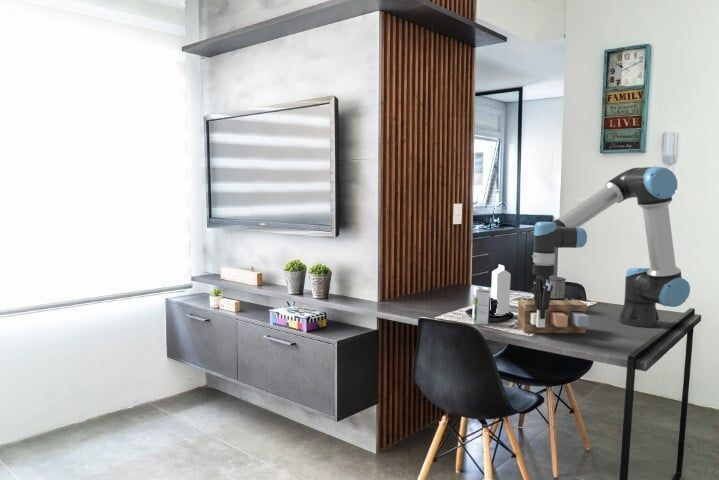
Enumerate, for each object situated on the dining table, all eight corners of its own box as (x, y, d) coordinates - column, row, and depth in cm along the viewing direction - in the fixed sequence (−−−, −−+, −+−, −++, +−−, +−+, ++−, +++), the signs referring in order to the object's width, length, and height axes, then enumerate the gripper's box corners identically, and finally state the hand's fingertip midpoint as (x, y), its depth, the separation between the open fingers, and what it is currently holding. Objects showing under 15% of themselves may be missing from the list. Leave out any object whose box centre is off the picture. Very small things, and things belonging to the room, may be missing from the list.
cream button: (534, 319, 217) (535, 308, 217) (543, 324, 208) (543, 314, 208) (524, 318, 217) (525, 308, 216) (532, 324, 208) (533, 314, 208)
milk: (503, 313, 243) (505, 264, 241) (508, 317, 237) (511, 266, 235) (489, 314, 242) (492, 264, 240) (495, 317, 236) (497, 266, 234)
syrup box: (471, 321, 229) (472, 286, 227) (486, 321, 228) (487, 286, 227) (474, 324, 223) (475, 289, 222) (488, 324, 223) (490, 289, 221)
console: (576, 327, 221) (577, 300, 220) (585, 332, 213) (587, 304, 212) (517, 327, 219) (518, 300, 218) (524, 332, 212) (525, 304, 210)
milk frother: (568, 311, 248) (570, 279, 247) (537, 313, 245) (538, 280, 243) (550, 305, 262) (552, 274, 261) (520, 306, 258) (521, 274, 257)
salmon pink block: (557, 320, 215) (557, 310, 214) (567, 326, 206) (567, 316, 206) (547, 320, 215) (547, 310, 214) (556, 326, 206) (557, 316, 205)
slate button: (577, 320, 215) (578, 310, 215) (588, 326, 206) (588, 316, 206) (567, 320, 215) (568, 310, 215) (577, 326, 206) (578, 316, 206)
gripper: (527, 261, 210) (524, 322, 212) (540, 266, 197) (537, 331, 199) (546, 261, 210) (543, 322, 213) (560, 266, 197) (557, 331, 200)
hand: (540, 326), depth 206 cm, fingers closed
